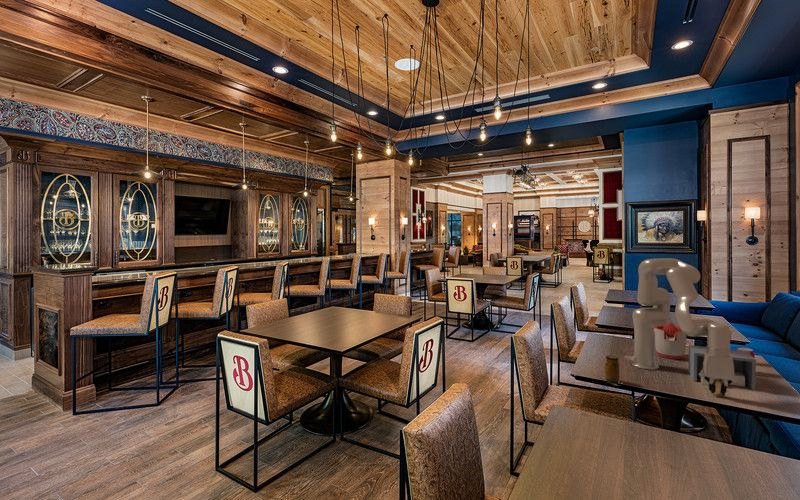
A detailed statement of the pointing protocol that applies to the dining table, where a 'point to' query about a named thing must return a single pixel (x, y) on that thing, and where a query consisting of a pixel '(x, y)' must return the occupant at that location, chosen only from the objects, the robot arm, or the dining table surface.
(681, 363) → the dining table surface
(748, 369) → the cubby shelf
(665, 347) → the citrus juicer
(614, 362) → the condiment
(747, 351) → the soda can
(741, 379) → the grey block
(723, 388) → the robot arm
